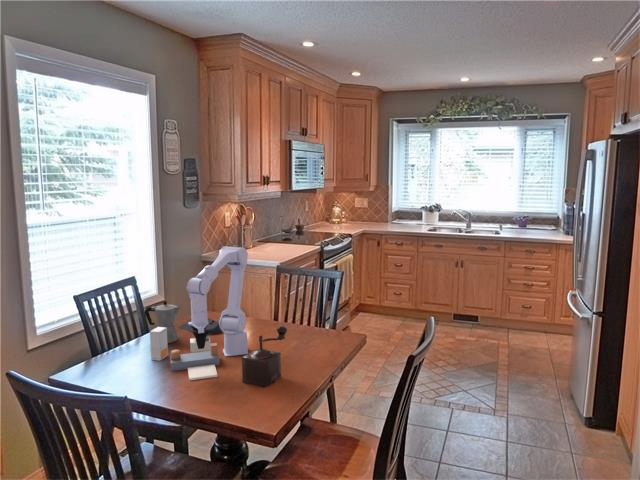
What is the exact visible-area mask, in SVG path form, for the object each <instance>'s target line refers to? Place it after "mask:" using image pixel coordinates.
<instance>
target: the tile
mask: <svg viewBox="0 0 640 480" xmlns="http://www.w3.org/2000/svg"><path fill="white" fill-rule="evenodd" d="M187 375H188V380H189V381H196V380H204V379H209V378H211V379H212V378H217V377H218V371H217V369H216V365H215V364H213V365H206V366H198V367H190V368H188V369H187Z"/></svg>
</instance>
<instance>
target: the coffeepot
mask: <svg viewBox="0 0 640 480" xmlns="http://www.w3.org/2000/svg"><path fill="white" fill-rule="evenodd" d="M162 302H163V303H162V304H161V305H157V306H147V307H146V308H145V310H144V313H143V314H144V315H145V317H146V320H147V322H148V324H149V325H150V326H155V324H156V323H155V322H153V321H152V318H151V316H150V315H151V314H150V312H155V319H156V322H157V324H158V326H157V327H166V328H167V344H171V343H174V342H176V341H177V340H178V339H179V337H178V333H177V328H176V325H175V321H176V316H177V314H178V312H179V310H180V309H181V308H182V307H181V306H179V305H174V304H167V303H168V301H167V300H163V301H162Z"/></svg>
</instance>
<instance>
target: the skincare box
mask: <svg viewBox="0 0 640 480" xmlns="http://www.w3.org/2000/svg"><path fill="white" fill-rule="evenodd" d="M149 337H150V338H149V340H150V342H149V343H150V358H151V359H150V360H151V361H157V362H158V361H160V362H161V361H162V360H163V359H165V358H166V357H168V356H169V352H168V351H169V350H168V343H167V328H166V327H158V326H157V327H155V328H153V329H152V330H150V331H149Z"/></svg>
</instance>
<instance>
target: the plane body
mask: <svg viewBox="0 0 640 480" xmlns="http://www.w3.org/2000/svg"><path fill="white" fill-rule="evenodd" d="M210 345H211V350H207V351H199V352H190V353H182V354H181V350H180V349H172V350H171V351H170V357H169V359H170V371H171V372H172V371H182V370H188V368H190V367H198V366H206V365H213V364H215V366H219V365H221V364H220V356H219V353H218V343H217V342H214V343H213V342H210Z"/></svg>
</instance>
